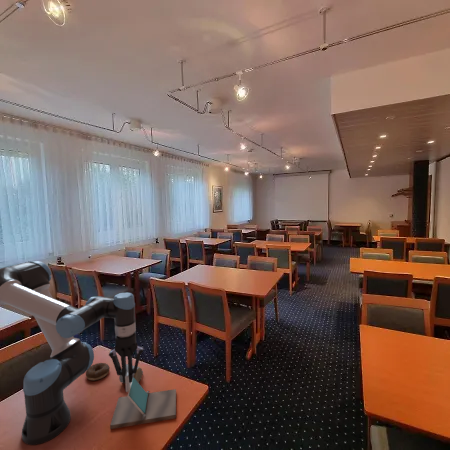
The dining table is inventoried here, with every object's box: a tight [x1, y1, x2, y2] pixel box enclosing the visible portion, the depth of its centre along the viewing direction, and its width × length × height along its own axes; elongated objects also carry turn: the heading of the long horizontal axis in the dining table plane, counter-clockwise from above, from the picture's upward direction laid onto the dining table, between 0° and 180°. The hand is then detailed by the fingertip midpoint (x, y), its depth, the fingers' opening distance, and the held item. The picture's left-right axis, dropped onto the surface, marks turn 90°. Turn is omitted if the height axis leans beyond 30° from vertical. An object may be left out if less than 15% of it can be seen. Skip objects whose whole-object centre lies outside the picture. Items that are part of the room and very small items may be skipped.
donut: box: [85, 362, 110, 381], centre depth 127 cm, size 11×11×4 cm
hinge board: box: [109, 388, 177, 430], centre depth 105 cm, size 24×14×2 cm, turn 100°
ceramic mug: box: [118, 363, 144, 384], centre depth 123 cm, size 11×8×8 cm
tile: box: [127, 378, 148, 414], centre depth 104 cm, size 10×10×1 cm
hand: (128, 389), depth 103 cm, fingers closed
